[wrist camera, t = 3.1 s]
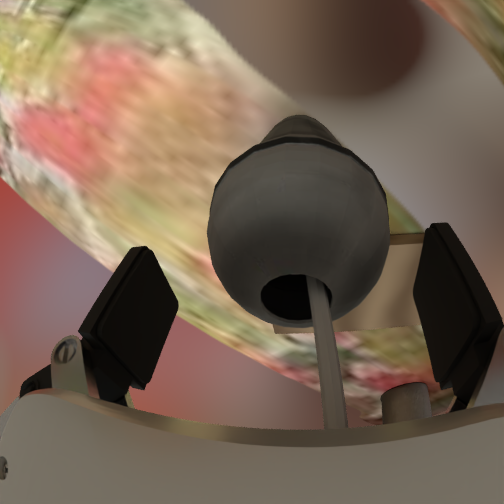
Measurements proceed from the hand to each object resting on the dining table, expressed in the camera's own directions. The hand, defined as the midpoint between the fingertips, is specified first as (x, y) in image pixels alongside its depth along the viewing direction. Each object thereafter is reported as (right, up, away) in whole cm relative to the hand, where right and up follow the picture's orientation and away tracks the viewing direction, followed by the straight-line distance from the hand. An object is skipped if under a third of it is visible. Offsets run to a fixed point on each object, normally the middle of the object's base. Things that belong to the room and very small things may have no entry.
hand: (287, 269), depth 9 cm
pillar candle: (+28, -26, +34) cm, 51 cm away
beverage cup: (+2, +9, +11) cm, 14 cm away
